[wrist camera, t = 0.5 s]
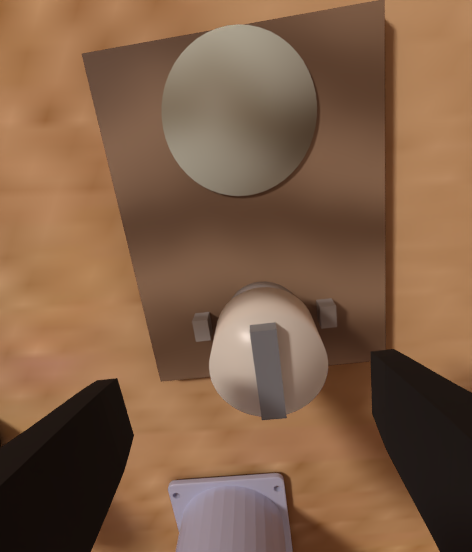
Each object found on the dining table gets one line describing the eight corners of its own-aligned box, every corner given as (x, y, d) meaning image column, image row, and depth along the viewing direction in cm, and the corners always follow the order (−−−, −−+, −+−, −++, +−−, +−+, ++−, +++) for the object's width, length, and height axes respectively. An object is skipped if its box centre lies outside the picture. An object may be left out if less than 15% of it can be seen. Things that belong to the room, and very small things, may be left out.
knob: (317, 370, 17) (334, 422, 14) (224, 379, 17) (217, 431, 14) (311, 281, 16) (328, 314, 12) (208, 293, 16) (197, 328, 12)
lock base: (379, 350, 20) (400, 381, 17) (164, 371, 21) (151, 404, 18) (375, 10, 15) (406, -28, 12) (91, 60, 16) (56, 36, 13)
